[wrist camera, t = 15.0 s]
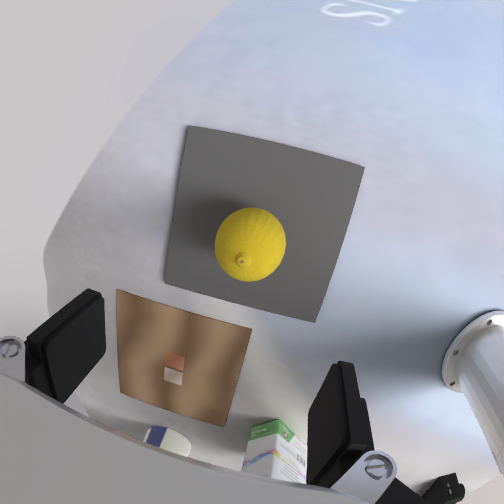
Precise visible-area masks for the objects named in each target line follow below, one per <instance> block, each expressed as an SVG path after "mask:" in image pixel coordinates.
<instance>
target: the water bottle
mask: <svg viewBox="0 0 504 504" xmlns="http://www.w3.org/2000/svg"><path fill="white" fill-rule="evenodd" d="M143 442H146V443H148V444H151V445H153V446H156V447H159V448H162V449H164V450H167V451H170V452H173V453H176V454H179V455H182V456H185V457H188V455H189V452H190V450H191V444H190V442H189V441H188V440H187V438H185V437H184V436H183V435H181V434H180V433H178V432H176V431H174V430H172V429H169V428H165V427H159V426H156V427H151V428H149V429H148V430H147V433H146V435H145V438H144V440H143Z"/></svg>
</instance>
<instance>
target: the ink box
mask: <svg viewBox="0 0 504 504" xmlns="http://www.w3.org/2000/svg"><path fill="white" fill-rule="evenodd" d="M306 468H307V446H306V445H305V444H303V443H302V442H301V441H300V440H299V439H298V438H297V437H296V436H295V435H294V434H293V433H292V432H291V431H290V430H289V429H288V428H287V427H286V426H285V425H284V424H283V423H282V422H281V421H280V419H277V420H274V421H271V422H268V423H265V424H262V425H258V426H255V427H252V428H251V430H250V435H249V440H248V444H247V448H246V453H245V457H244V461H243V466H242V470H241V472H245V473H249V474H254V475H259V476H264V477H269V478H274V479H280V480H285V481H291V482H298V483H303V484H305V482H306Z"/></svg>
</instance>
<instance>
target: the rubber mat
mask: <svg viewBox="0 0 504 504" xmlns="http://www.w3.org/2000/svg"><path fill="white" fill-rule="evenodd" d="M364 168H365V167H362V166H359V165H356V164H353V163H349V162H346V161H343V160H339V159H336V158H333V157H329V156H326V155H322V154H318V153H315V152H311V151H307V150H303V149H300V148H296V147H292V146H288V145H284V144H279V143H275V142H271V141H267V140H262V139H258V138H253V137H248V136H244V135H239V134H234V133H229V132H223V131H218V130H212V129H207V128H201V127H195V126H189V129H188V134H187V139H186V144H185V149H184V154H183V159H182V165H181V170H180V176H179V182H178V187H177V193H176V200H175V206H174V212H173V219H172V226H171V233H170V240H169V248H168V256H167V264H166V273H165V282H164V283H165V284H168V285H172V286H175V287H179V288H182V289H186V290H189V291H193V292H196V293H200V294H203V295H207V296H211V297H214V298H218V299H222V300H225V301H229V302H233V303H237V304H240V305H244V306H248V307H252V308H256V309H260V310H264V311H268V312H272V313H276V314H280V315H284V316H288V317H292V318H297V319H301V320H305V321H309V322H314V323H315V321H316V318H317V315H318V313H319V310H320V307H321V305H322V302H323V299H324V296H325V293H326V291H327V288H328V285H329V282H330V279H331V276H332V273H333V271H334V268H335V265H336V262H337V259H338V256H339V253H340V250H341V246H342V243H343V240H344V237H345V234H346V231H347V227H348V224H349V221H350V218H351V214H352V211H353V208H354V204H355V201H356V197H357V194H358V190H359V187H360V183H361V180H362V176H363V172H364ZM244 208H259V209H263V210H265V211H267V212H269V213H271V214H272V215H273V216H275V217H276V218H277V219H278V221H279V222H280V224H281V225H282V227H283V230H284V232H285V237H286V248H285V254H284V256H283V259H282V261H281V263H280V265H279V266H278V267H277V268H276V269H275V270H274V272H273V273H271V274H270V275H268V276H267V277H265V278H263V279H260V280H258V281H251V282H246V281H240V280H237V279H234V278H233V277H231V276H230V275H228V274H227V273H226V272H225V271H224V270H223V269H222V268H221V266H220V264H219V263H218V261H217V258H216V254H215V239H216V235H217V231H218V229H219V228H220V226H221V224H222V222H223V221H224V220H225V219H226V218H227V217H228V216H229V215H231V214H232V213H234V212H236V211H237V210H240V209H244Z"/></svg>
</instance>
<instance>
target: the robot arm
mask: <svg viewBox="0 0 504 504" xmlns="http://www.w3.org/2000/svg"><path fill="white" fill-rule="evenodd" d="M105 351H106V336H105V311H104V298H103V297H102V295H101V293H100V292H97V291H94V290H92V289H86V290H85V291H83V292H82V293H81V294H80V295H78V296H77V297H76V298H74V299H73V300H72V301H71V302H69V303H68V304H67V305H65V306H64V307H63V308H62V309H60V310H59V311H58V312H57V313H55V314H54V315H53V316H52V317H50V318H49V319H48V320H47V321H46V322H44V323H43V324H42V325H41V326H39V327H38V328H37V329H36V330H35V331H33V332H32V333H31V334H30V335H29V336H27V340H26V341H25V342H23V341H22V340H21V339H19V338H17V337H15V336H6V337H3V338H0V504H430V503H429V502H427V501H426V500H424V499H423V498H422V497H420V496H419V495H418V494H416V493H415V492H414V491H412V490H411V489H410V488H408V487H407V486H406V485H405V484H403V483H402V482H401V481H399V480H398V479H397V478H395V476H396V474H397V466H396V463H395V461H394V460H393V458H392V457H390V456H389V455H388V454H386V453H384V452H381V451H375V450H374V444H373V438H372V432H371V426H370V421H369V415H368V410H367V405H366V401H365V399H364V398H360V394H359V389H358V383H357V378H356V373H355V368H354V364H353V363H348V362H343V361H338V363H337V364H332V366H331V368H330V370H329V372H328V374H327V376H326V378H325V380H324V382H323V384H322V386H321V388H320V390H319V392H318V394H317V396H316V398H315V400H314V402H313V403H312V405H311V407H310V409H309V413H308V441H307V474H306V483H307V484H303V483H298V482H291V481H285V480H280V479H274V478H269V477H264V476H259V475H254V474H249V473H245V472H240V471H236V470H232V469H228V468H224V467H220V466H216V465H212V464H209V463H205V462H202V461H198V460H195V459H192V458H189V457H185V456H182V455H179V454H176V453H173V452H170V451H167V450H164V449H162V448H159V447H156V446H153V445H151V444H148V443H146V442H143V441H140V440H138V439H135V438H133V437H131V436H128V435H126V434H123V433H121V432H119V431H117V430H114V429H112V428H110V427H108V426H105V425H103V424H101V423H99V422H97V421H95V420H93V419H91V418H89V417H87V416H85V415H83V414H81V413H79V412H77V411H75V410H73V409H71V408H69V407H67V406H66V405H64V404H63V403H64V402H65V401H66V400H67V399H68V398H69V396H70V395H71V394H72V393H73V391H74V390H75V389H76V388H77V387H78V385H79V384H80V383H81V382H82V381H83V379H84V378H85V377H86V376H87V374H88V373H89V372H90V371H91V370H92V369H93V367H94V366H95V365H96V364H97V363H98V361H99V360H100V359H101V358H102V357H103V355H104V354H105ZM442 377H443V380H444V382H445V384H446V385H447V387H448V388H449V389H451V390H452V391H455V392H461V393H464V395H465V396H466V398H467V400H468V402H469V404H470V406H471V408H472V410H473V412H474V414H475V416H476V418H477V421H478V423H479V425H480V427H481V429H482V431H483V433H484V435H485V438H486V440H487V442H488V444H489V447H490V449H491V451H492V454H493V456H494V458H495V461H496V463H497V465H498V468H499V470H500V472H501V474H502V475H503V477H504V311H493V312H489V313H486V314H484V315H482V316H480V317H478V318H477V319H475V320H474V321H472V322H471V323H470V324H469V325H467V326H466V327H465V328H464V329H463V330H462V331H461V332H460V333H459V334H458V336H457V337H456V338H455V339H454V341H453V342H452V344H451V345H450V347H449V349H448V350H447V352H446V355H445V357H444V360H443V364H442Z"/></svg>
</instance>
